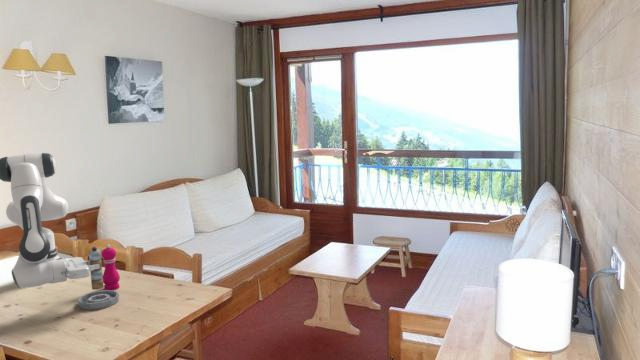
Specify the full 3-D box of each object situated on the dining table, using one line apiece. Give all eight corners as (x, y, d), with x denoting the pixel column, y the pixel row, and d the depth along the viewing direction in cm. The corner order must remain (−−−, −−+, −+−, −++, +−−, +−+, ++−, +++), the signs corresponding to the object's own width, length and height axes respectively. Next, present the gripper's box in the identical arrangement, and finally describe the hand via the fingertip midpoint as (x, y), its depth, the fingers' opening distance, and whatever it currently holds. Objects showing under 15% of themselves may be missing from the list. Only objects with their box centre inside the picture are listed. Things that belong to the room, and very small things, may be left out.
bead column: (93, 286, 210) (89, 246, 208) (104, 285, 211) (101, 245, 209) (90, 290, 206) (87, 248, 204) (102, 289, 207) (98, 247, 205)
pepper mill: (114, 291, 223) (110, 246, 220) (99, 290, 224) (95, 246, 221) (123, 285, 230) (120, 242, 227) (109, 285, 231) (105, 242, 228)
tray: (83, 298, 215) (83, 292, 215) (121, 294, 218) (121, 288, 218) (75, 311, 201) (74, 305, 200) (115, 307, 204) (115, 301, 203)
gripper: (62, 269, 191) (102, 262, 199) (56, 257, 208) (93, 251, 216) (64, 285, 192) (103, 278, 199) (58, 272, 209) (94, 265, 216)
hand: (98, 264), depth 208 cm, fingers closed on bead column, 4 cm apart
